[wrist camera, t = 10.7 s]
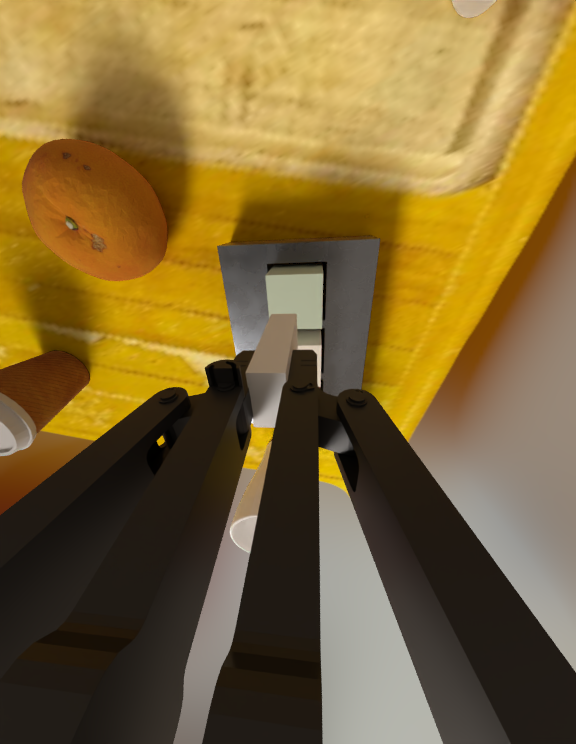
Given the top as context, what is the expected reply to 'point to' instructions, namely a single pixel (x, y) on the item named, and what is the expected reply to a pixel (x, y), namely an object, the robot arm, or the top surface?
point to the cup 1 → (249, 507)
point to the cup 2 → (471, 7)
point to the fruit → (94, 210)
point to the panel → (341, 306)
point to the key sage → (296, 293)
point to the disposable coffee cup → (36, 396)
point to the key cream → (311, 345)
